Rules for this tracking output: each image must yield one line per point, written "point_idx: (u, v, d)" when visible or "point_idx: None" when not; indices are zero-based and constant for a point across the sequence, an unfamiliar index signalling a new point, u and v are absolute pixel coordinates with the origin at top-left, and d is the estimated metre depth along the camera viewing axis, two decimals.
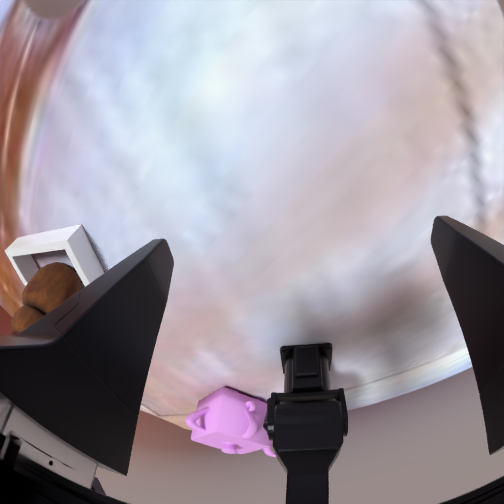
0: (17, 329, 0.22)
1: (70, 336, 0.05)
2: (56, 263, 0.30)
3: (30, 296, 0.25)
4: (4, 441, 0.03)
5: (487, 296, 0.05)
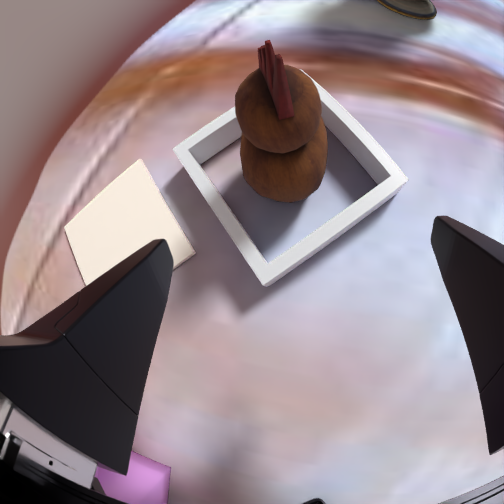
0: (302, 77, 0.13)
1: (70, 336, 0.05)
2: None
3: None
4: (4, 441, 0.03)
5: (487, 296, 0.05)
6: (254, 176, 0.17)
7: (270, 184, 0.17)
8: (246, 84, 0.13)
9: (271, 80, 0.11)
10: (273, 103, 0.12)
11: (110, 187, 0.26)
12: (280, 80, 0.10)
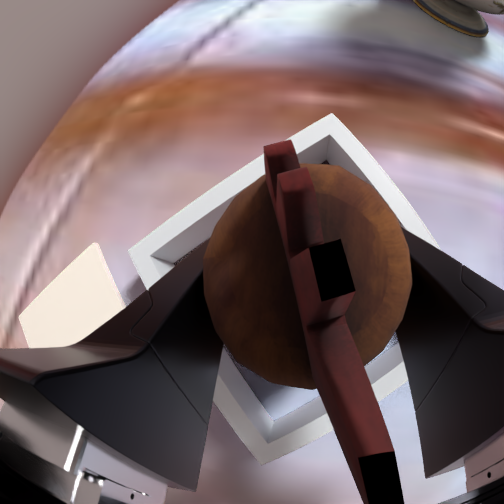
0: (384, 231, 0.05)
1: (153, 343, 0.05)
2: None
3: None
4: (4, 441, 0.03)
5: (417, 308, 0.06)
6: None
7: None
8: (228, 247, 0.05)
9: (308, 318, 0.03)
10: (302, 333, 0.05)
11: (61, 278, 0.18)
12: None
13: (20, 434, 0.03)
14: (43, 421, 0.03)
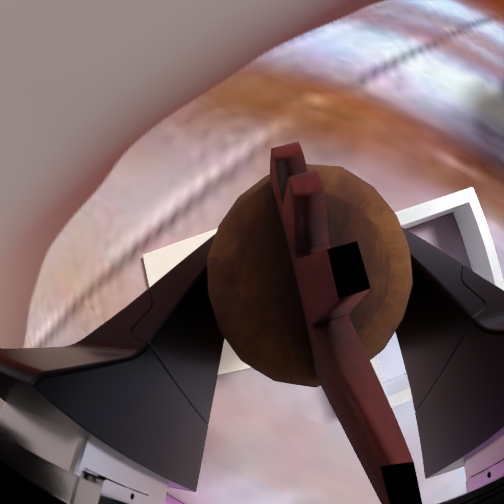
0: (387, 232, 0.05)
1: (153, 343, 0.05)
2: None
3: None
4: (4, 441, 0.03)
5: (417, 308, 0.06)
6: None
7: None
8: (233, 247, 0.05)
9: None
10: (306, 331, 0.05)
11: None
12: None
13: (20, 434, 0.03)
14: (43, 421, 0.03)
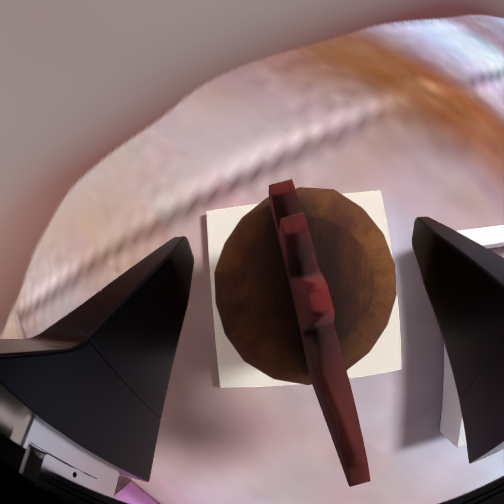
0: (372, 250, 0.06)
1: (95, 339, 0.05)
2: None
3: None
4: (4, 441, 0.03)
5: (465, 300, 0.06)
6: None
7: None
8: (237, 264, 0.06)
9: (304, 327, 0.04)
10: (300, 336, 0.06)
11: None
12: None
13: None
14: (2, 401, 0.03)
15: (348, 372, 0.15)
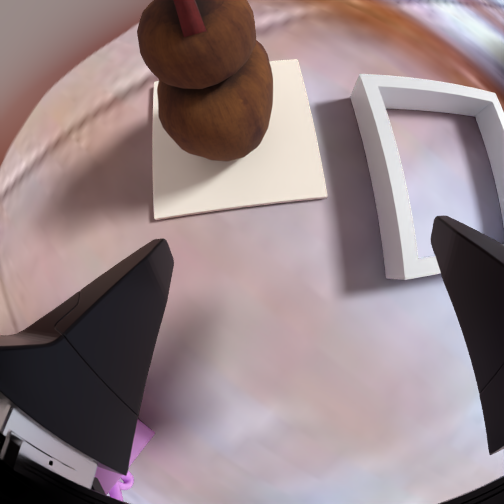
0: None
1: (70, 336, 0.05)
2: None
3: (255, 43, 0.11)
4: (4, 441, 0.03)
5: (487, 296, 0.05)
6: (169, 124, 0.12)
7: (189, 133, 0.12)
8: (151, 4, 0.07)
9: None
10: None
11: None
12: None
13: None
14: None
15: (273, 195, 0.18)
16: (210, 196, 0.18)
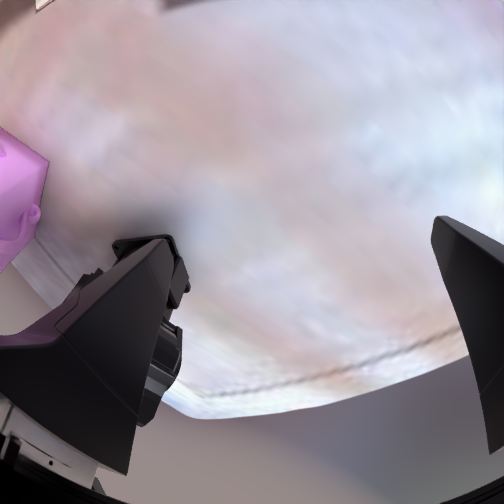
0: None
1: (70, 336, 0.05)
2: None
3: None
4: (4, 441, 0.03)
5: (487, 296, 0.05)
6: None
7: None
8: None
9: None
10: None
11: None
12: None
13: None
14: None
15: None
16: None
